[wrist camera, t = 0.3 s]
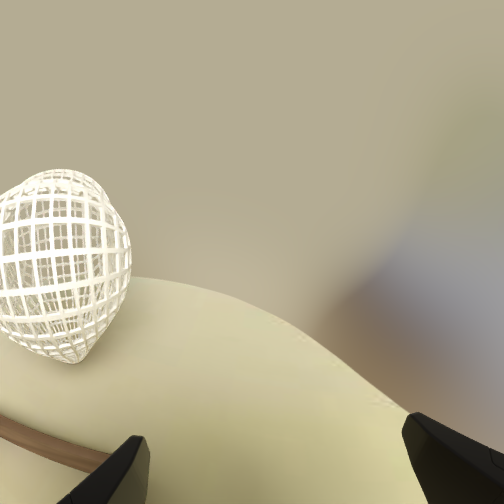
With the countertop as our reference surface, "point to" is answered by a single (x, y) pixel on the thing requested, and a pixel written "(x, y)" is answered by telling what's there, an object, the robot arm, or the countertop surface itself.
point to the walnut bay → (51, 446)
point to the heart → (110, 258)
